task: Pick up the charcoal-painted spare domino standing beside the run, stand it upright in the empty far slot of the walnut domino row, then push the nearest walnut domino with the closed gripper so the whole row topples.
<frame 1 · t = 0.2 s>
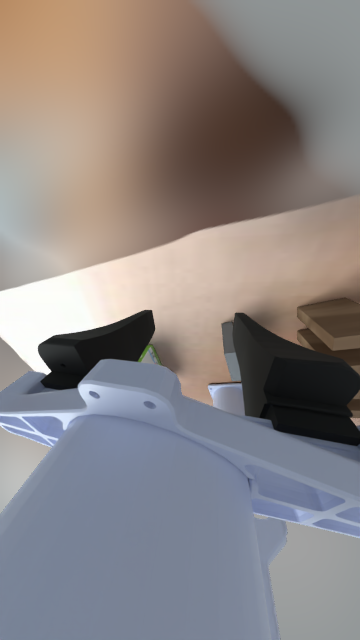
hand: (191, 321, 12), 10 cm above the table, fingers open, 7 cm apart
domino 3: (317, 332, 20), on the table
ink box: (150, 361, 32), on the table
domino 4: (319, 308, 19), on the table
spare domino: (229, 335, 24), on the table
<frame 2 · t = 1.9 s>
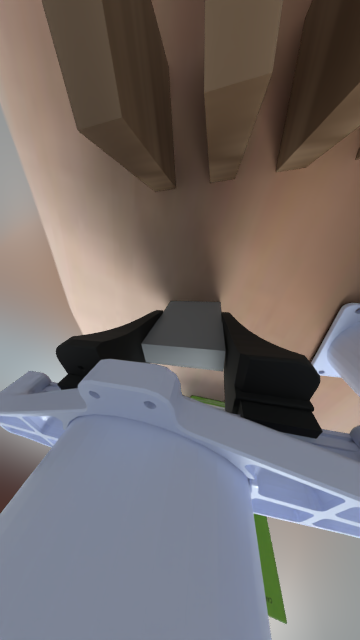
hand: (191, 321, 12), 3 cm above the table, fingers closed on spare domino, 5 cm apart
domino 3: (225, 122, 8), on the table
ink box: (221, 409, 23), on the table
domino 4: (160, 138, 9), on the table
spare domino: (194, 308, 14), on the table, touching gripper
domino 2: (305, 103, 7), on the table
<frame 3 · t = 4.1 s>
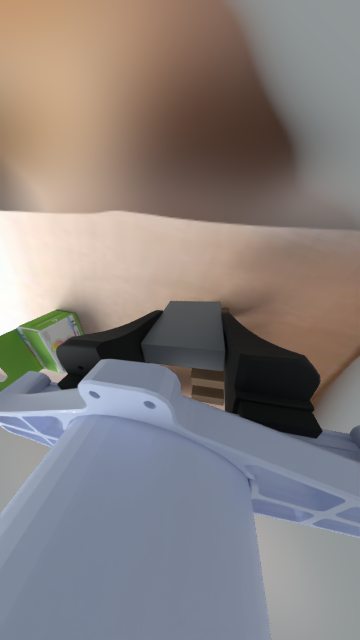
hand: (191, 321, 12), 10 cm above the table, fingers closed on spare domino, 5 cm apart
domino 1: (208, 366, 28), on the table
ink box: (74, 330, 32), on the table
spare domino: (194, 308, 14), point 7 cm above the table, touching gripper
domino 2: (209, 350, 26), on the table
when the fingers open (3 cm above the table, at t = 6.4 s): spare domino stays where it is, on the table.
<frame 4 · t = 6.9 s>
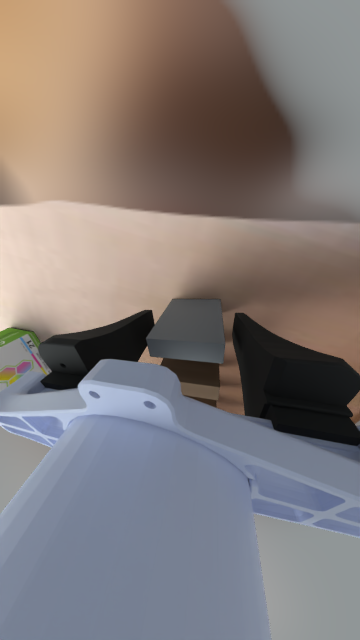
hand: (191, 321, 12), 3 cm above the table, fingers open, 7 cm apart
ink box: (37, 350, 26), on the table
domino 4: (195, 336, 17), on the table
spare domino: (195, 306, 15), on the table
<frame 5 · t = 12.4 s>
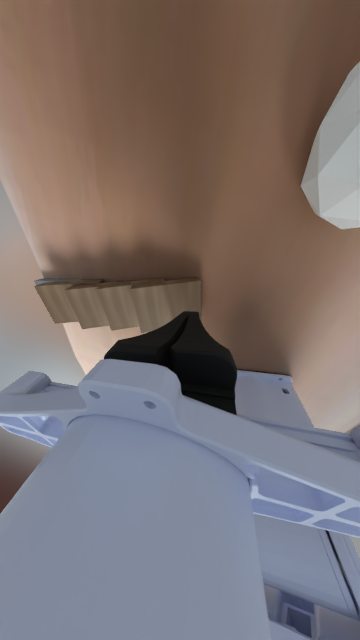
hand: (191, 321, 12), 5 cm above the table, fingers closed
domino 1: (199, 300, 16), point 1 cm above the table, tilted 67°, touching domino 2
geometric ball: (345, 166, 10), on the table
domino 3: (136, 301, 18), point 1 cm above the table, tilted 67°, touching domino 2, domino 4
domino 4: (106, 299, 19), point 1 cm above the table, tilted 71°, touching domino 3
domino 2: (166, 300, 17), point 1 cm above the table, tilted 67°, touching domino 1, domino 3
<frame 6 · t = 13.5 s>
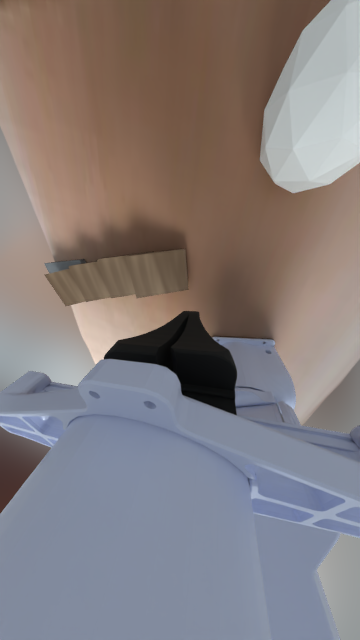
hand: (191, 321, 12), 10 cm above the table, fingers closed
domino 1: (185, 269, 19), point 1 cm above the table, tilted 67°, touching domino 2
geometric ball: (298, 144, 12), on the table
domino 3: (129, 275, 21), point 1 cm above the table, tilted 68°, touching domino 2, domino 4
domino 4: (102, 279, 22), point 1 cm above the table, tilted 72°, touching domino 3, spare domino
spare domino: (90, 275, 23), on the table, tilted 90°, touching domino 4
domino 2: (157, 271, 20), point 1 cm above the table, tilted 69°, touching domino 1, domino 3
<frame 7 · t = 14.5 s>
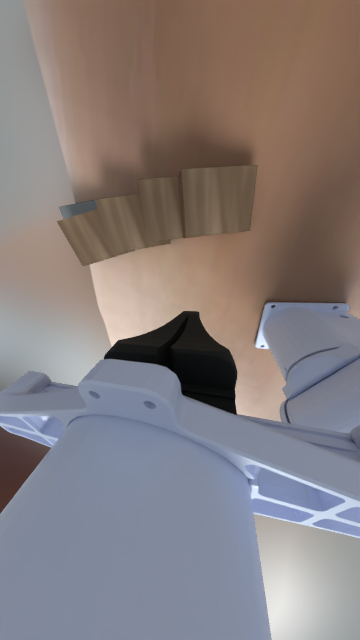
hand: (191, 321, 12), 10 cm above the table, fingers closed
domino 1: (248, 202, 14), point 1 cm above the table, tilted 67°, touching domino 2
domino 3: (166, 220, 17), point 1 cm above the table, tilted 69°, touching domino 4
domino 4: (126, 229, 18), point 1 cm above the table, tilted 71°, touching domino 3
spare domino: (115, 223, 19), on the table, tilted 90°
domino 2: (208, 208, 15), point 1 cm above the table, tilted 70°, touching domino 1
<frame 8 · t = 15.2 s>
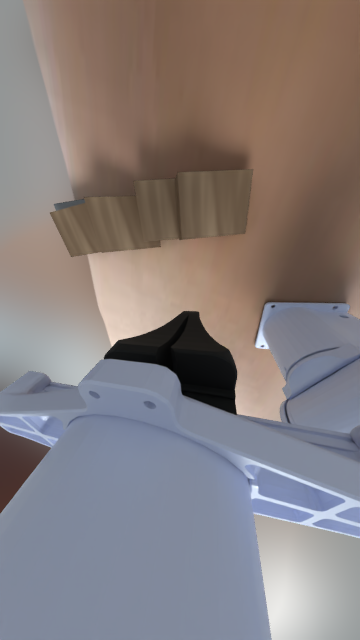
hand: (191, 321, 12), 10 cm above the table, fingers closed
domino 1: (244, 206, 15), point 1 cm above the table, tilted 68°, touching domino 2
domino 3: (156, 223, 17), point 1 cm above the table, tilted 63°, touching domino 2, domino 4
domino 4: (110, 226, 17), point 2 cm above the table, tilted 89°, touching domino 3, spare domino
domino 2: (203, 210, 16), point 1 cm above the table, tilted 72°, touching domino 1, domino 3
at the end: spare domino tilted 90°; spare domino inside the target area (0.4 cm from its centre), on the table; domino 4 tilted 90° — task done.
